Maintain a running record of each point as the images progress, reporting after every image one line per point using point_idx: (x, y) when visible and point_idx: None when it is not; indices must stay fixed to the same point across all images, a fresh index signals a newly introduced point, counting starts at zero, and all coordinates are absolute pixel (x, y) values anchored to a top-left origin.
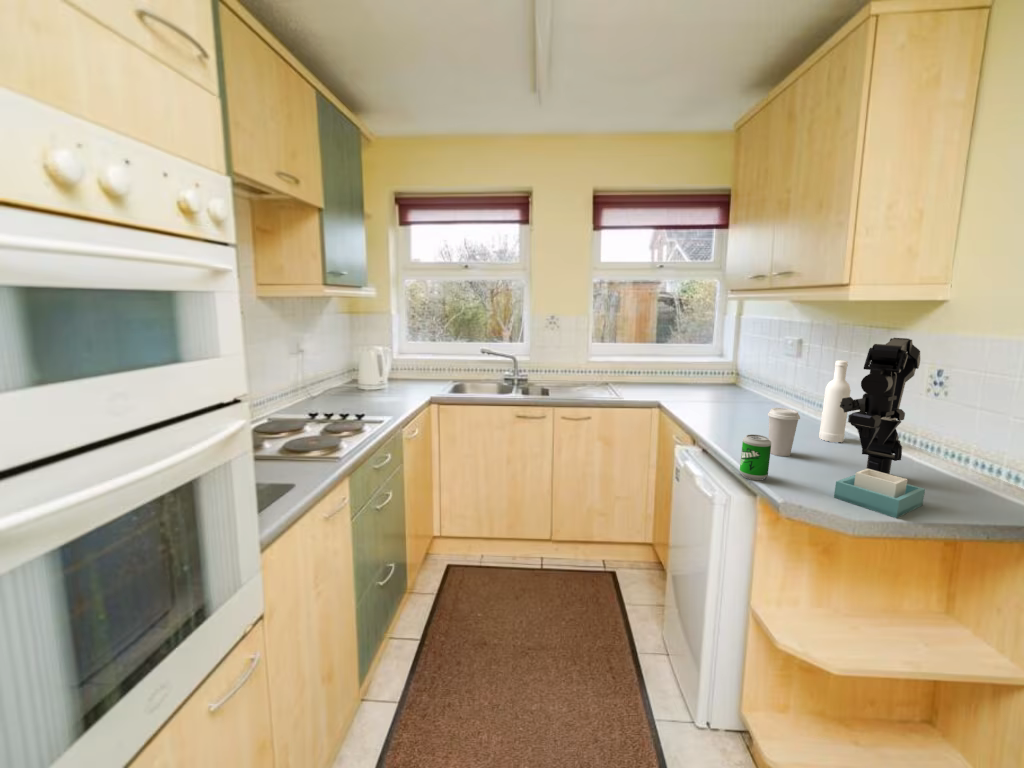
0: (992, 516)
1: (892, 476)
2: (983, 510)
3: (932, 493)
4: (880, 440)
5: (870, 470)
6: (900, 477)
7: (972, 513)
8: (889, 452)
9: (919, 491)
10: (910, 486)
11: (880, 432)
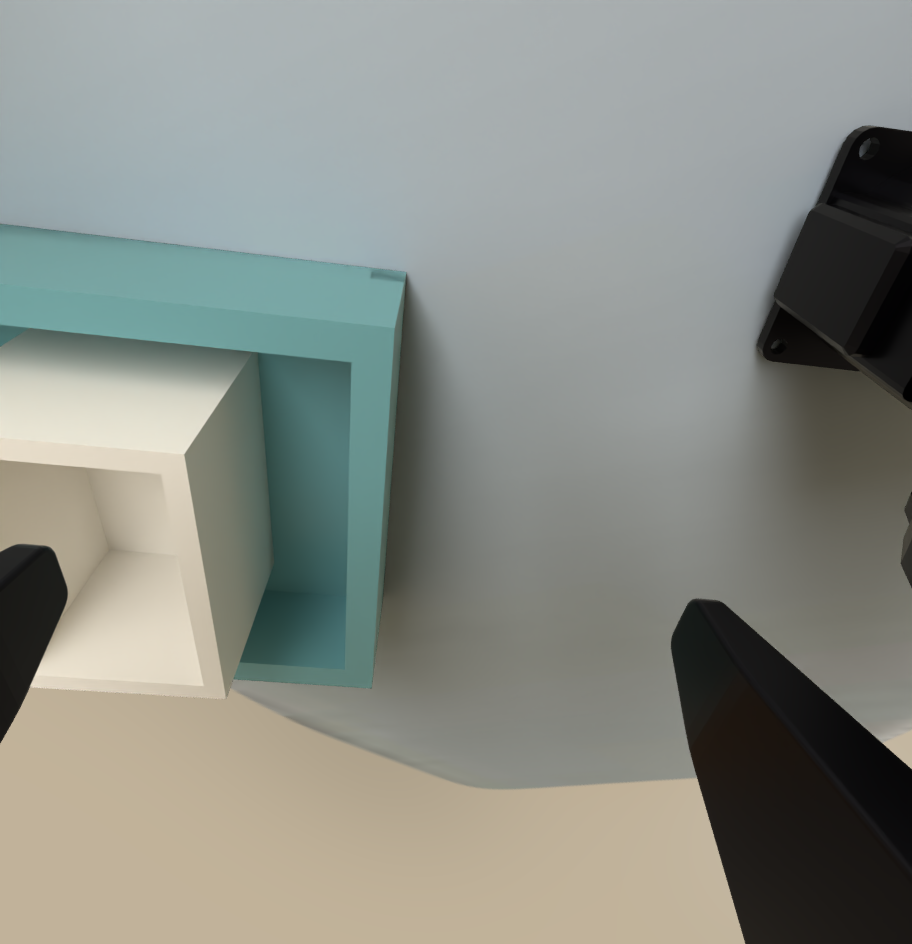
0: (511, 752)
1: (195, 628)
2: (569, 731)
3: (680, 587)
4: (710, 682)
5: (167, 484)
6: (215, 669)
7: (480, 717)
8: (909, 532)
9: (277, 681)
10: (347, 634)
11: (818, 852)
